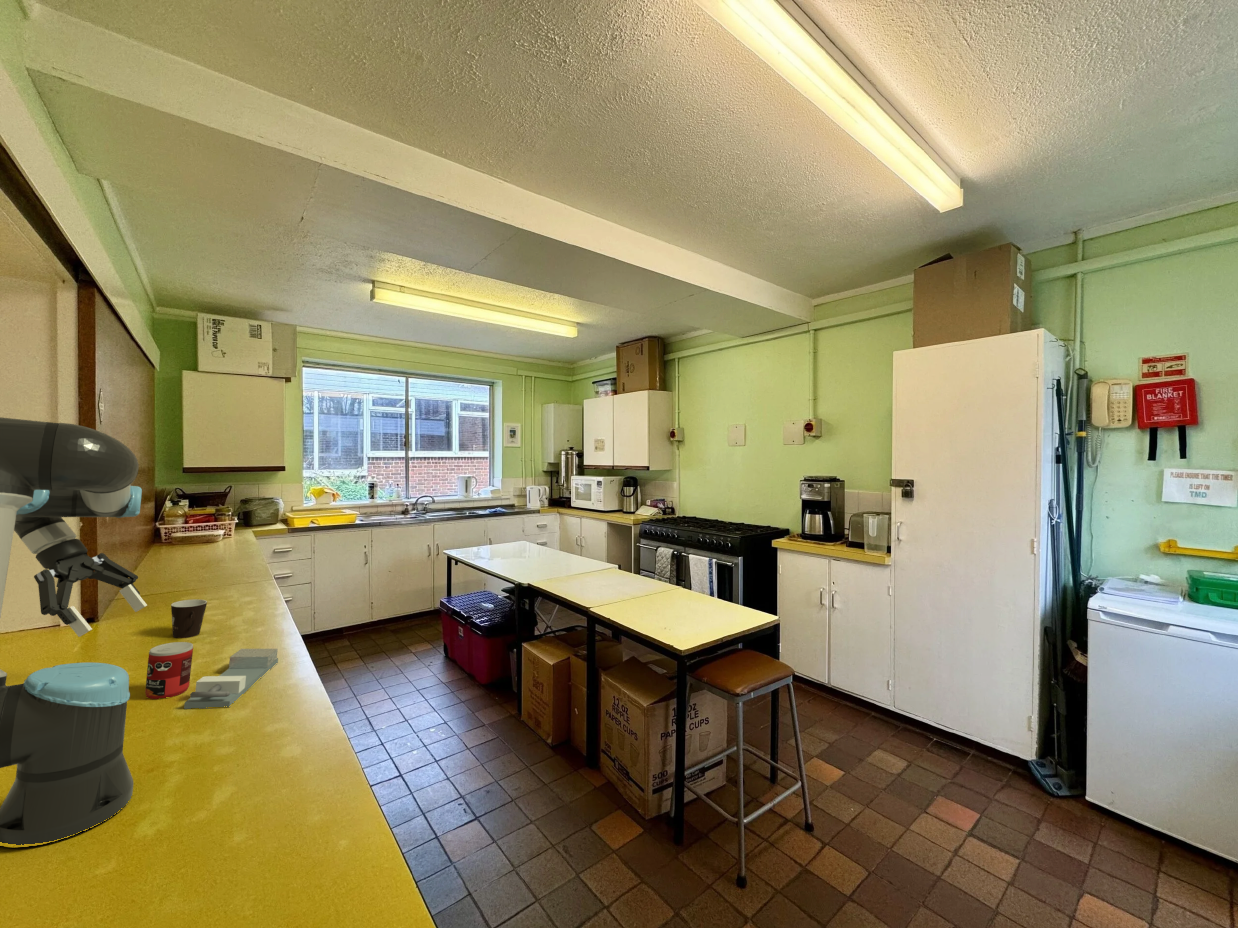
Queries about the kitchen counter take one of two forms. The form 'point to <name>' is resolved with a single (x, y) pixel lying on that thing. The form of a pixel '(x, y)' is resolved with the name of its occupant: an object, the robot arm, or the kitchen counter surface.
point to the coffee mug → (187, 617)
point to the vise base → (231, 697)
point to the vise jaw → (253, 658)
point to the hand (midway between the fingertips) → (115, 620)
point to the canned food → (168, 670)
